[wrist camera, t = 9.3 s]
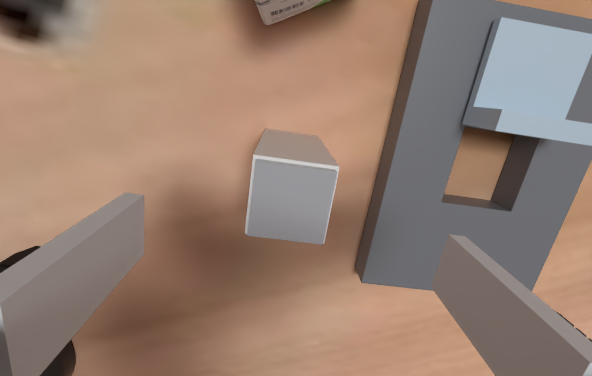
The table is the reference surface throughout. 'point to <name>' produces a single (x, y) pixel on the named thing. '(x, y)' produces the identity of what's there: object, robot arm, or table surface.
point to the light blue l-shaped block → (530, 81)
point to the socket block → (442, 150)
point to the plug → (291, 188)
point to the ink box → (284, 8)
